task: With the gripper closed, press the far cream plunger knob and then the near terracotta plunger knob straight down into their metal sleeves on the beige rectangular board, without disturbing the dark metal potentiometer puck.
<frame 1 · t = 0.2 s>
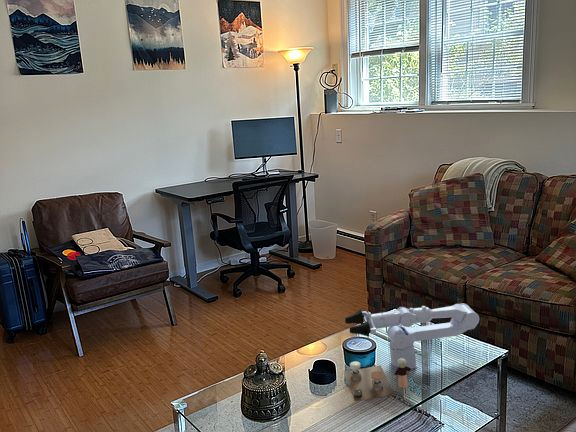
hand: (347, 325, 210), 21 cm above the table, tool horizontal, fingers open, 7 cm apart
grandmother figurine: (404, 389, 202), on the table
knob near: (377, 378, 201), point 6 cm above the table, slide at 0.0 cm
knob far: (355, 368, 209), point 6 cm above the table, slide at 0.0 cm
beige rectangular board: (368, 385, 206), on the table
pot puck: (358, 395, 199), point 1 cm above the table, touching beige rectangular board
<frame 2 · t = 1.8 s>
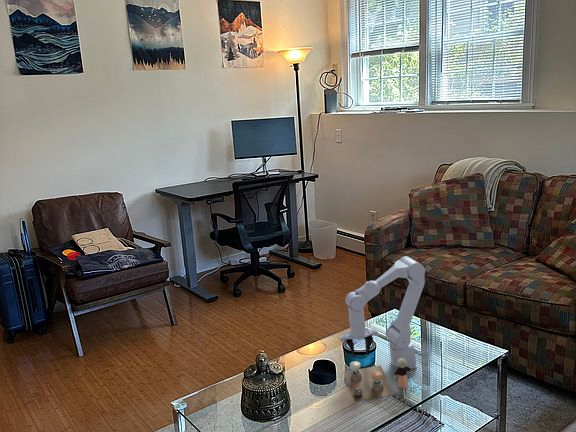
hand: (360, 354, 211), 9 cm above the table, tool pointing down, fingers open, 5 cm apart
nothing on the table moved.
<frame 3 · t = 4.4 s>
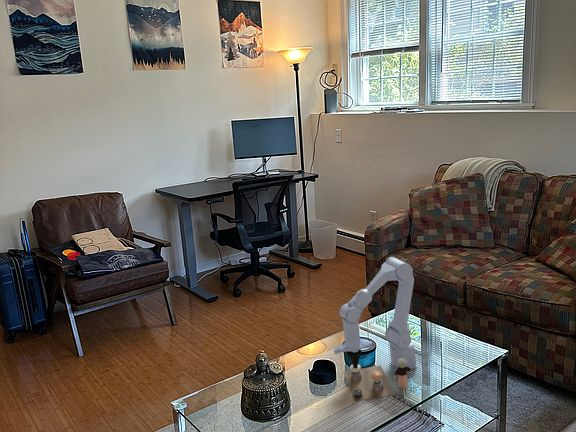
hand: (355, 366, 209), 6 cm above the table, tool pointing down, fingers closed, pressing on knob far
knob far: (355, 370, 209), point 4 cm above the table, slide at 1.1 cm, touching gripper
everything else where it was.
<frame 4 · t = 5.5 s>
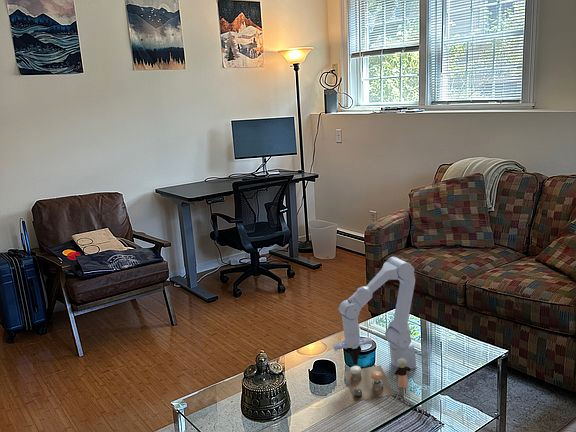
hand: (355, 363, 208), 8 cm above the table, tool pointing down, fingers closed
knob far: (355, 372, 210), point 4 cm above the table, slide at 1.9 cm
everything else where it was.
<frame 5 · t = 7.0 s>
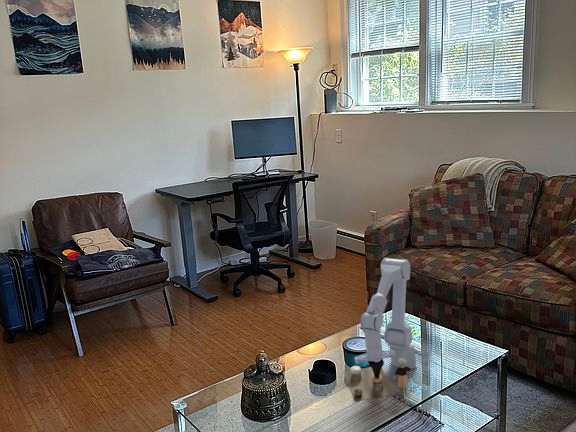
hand: (376, 377, 201), 6 cm above the table, tool pointing down, fingers closed, pressing on knob near
knob near: (377, 381, 201), point 4 cm above the table, slide at 1.2 cm, touching gripper
everything else where it was.
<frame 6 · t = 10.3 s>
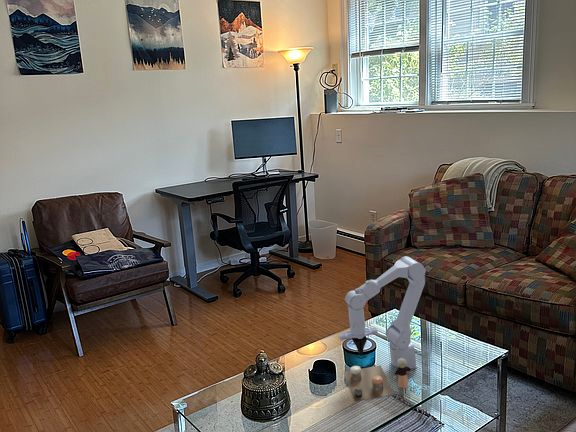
hand: (360, 353, 210), 10 cm above the table, tool pointing down, fingers closed
knob near: (377, 382, 201), point 4 cm above the table, slide at 1.9 cm
everything else where it was.
at the end: knob far slide at 1.9 cm; knob near slide at 1.9 cm; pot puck moved 0.1 cm from its start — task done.
